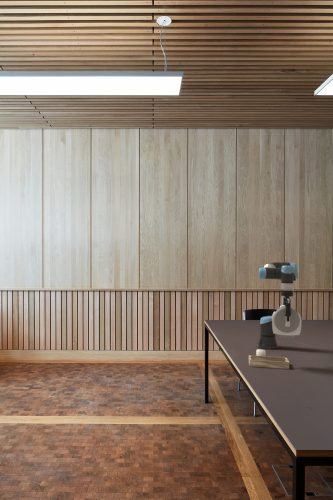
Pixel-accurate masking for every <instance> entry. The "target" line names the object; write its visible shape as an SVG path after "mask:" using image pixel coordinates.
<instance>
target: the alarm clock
mask: <svg viewBox="0 0 333 500" xmlns="http://www.w3.org/2000/svg"><path fill="white" fill-rule="evenodd" d="M285 315H286V307H285V305H282V306H281V305H280V306H279V308H277V309H276V311H273V313H272V315H271V316H272V329H273V333H275V334H276V335H277V338H281V339H283V338H284V339H296V336H300V335H301V331H302V322H303V321H302V316H301V314H300V312H298V311H297V310H296V309H295V307H294V305H293V306H291V316H290V327H285Z"/></svg>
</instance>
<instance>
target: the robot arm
mask: <svg viewBox="0 0 333 500" xmlns="http://www.w3.org/2000/svg"><path fill="white" fill-rule="evenodd" d="M298 275H299V274H298V265H297V263H295V262H291V261H290V262H286V261H284V262H281V261H280V262H279V261H278V262H277V261H275V262H270V263H267V264H265V265H264V267H263V266H262V267H259V269H258V278H259V279H261V280H262V279H263V280H279V281H280V282H281V283H280V285H279V286H280V288H281V290H280V296H281V304H280V306H282V305H285V307H286V315H285V327H290V316H291V306H293V307H294V290H295V289H294V284H295V282H296V281H297V279H298V278H299V276H298ZM276 335H277V334H275V333H273V329H272V315H267V316H262V317H261V318H260V321H259V339H258V341H257V346H256V347H257V348H259V349H263V350H276V349H278V347H279V345H278V341H277V336H276Z"/></svg>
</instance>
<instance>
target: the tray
mask: <svg viewBox="0 0 333 500" xmlns="http://www.w3.org/2000/svg"><path fill="white" fill-rule="evenodd" d="M248 365H249V367H250V368H251V367H255V368H269V369H270V368H271V369H285V370H286V369H287V370H290V361H289V359H288V358H287V357H286V356H285V357H284V356H283V357H282V356H269V355H268V356H256V355H251V354H249V355H248Z"/></svg>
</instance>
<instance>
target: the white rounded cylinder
mask: <svg viewBox="0 0 333 500" xmlns="http://www.w3.org/2000/svg"><path fill="white" fill-rule="evenodd" d="M255 350H256V351H255V352H256V353H255V356H266V355H267V353H266V350H267V349H263V348H259V349H258V348H257V349H255Z"/></svg>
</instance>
